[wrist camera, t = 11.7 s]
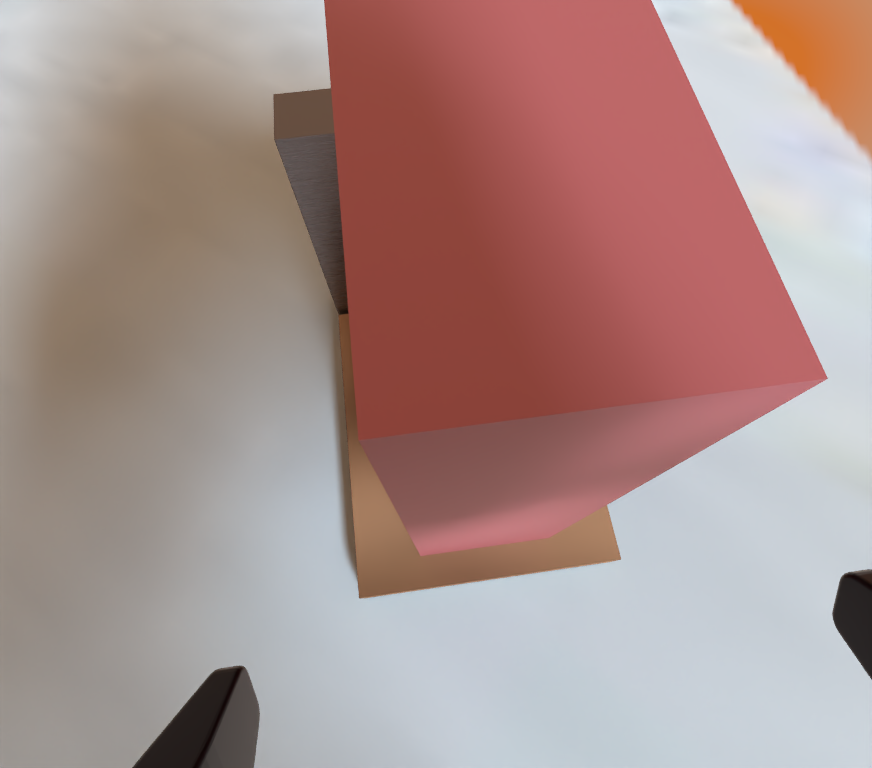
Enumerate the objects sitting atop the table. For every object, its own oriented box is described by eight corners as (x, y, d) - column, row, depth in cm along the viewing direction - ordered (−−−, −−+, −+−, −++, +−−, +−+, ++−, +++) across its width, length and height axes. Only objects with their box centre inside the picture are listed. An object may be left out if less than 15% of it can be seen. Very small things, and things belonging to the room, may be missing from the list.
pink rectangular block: (548, 538, 16) (828, 378, 4) (420, 556, 16) (357, 440, 4) (512, 363, 18) (631, -42, 7) (400, 378, 18) (323, -13, 7)
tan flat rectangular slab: (609, 561, 17) (621, 559, 16) (364, 598, 16) (359, 597, 15) (544, 305, 20) (549, 288, 19) (344, 330, 20) (338, 314, 19)
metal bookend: (543, 302, 21) (611, 102, 12) (343, 328, 20) (274, 139, 12) (535, 272, 21) (595, 60, 13) (341, 296, 21) (273, 94, 12)
